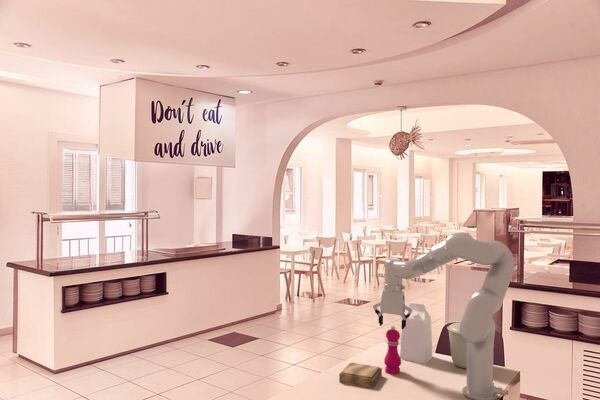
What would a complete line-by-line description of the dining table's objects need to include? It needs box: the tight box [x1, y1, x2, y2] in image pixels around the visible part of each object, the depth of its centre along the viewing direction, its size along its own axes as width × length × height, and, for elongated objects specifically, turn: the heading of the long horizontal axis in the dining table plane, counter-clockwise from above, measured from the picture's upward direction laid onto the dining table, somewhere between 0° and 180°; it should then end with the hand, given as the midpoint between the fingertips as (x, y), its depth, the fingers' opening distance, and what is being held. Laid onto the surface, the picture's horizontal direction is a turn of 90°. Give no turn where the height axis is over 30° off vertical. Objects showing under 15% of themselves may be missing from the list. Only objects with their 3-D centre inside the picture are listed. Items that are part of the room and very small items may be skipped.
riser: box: [338, 362, 383, 389], centre depth 195 cm, size 14×14×4 cm
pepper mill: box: [383, 325, 402, 375], centre depth 203 cm, size 7×7×20 cm
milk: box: [399, 301, 433, 365], centre depth 222 cm, size 12×12×26 cm
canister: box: [446, 321, 467, 370], centre depth 212 cm, size 18×18×21 cm
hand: (392, 326), depth 203 cm, fingers open, 9 cm apart
